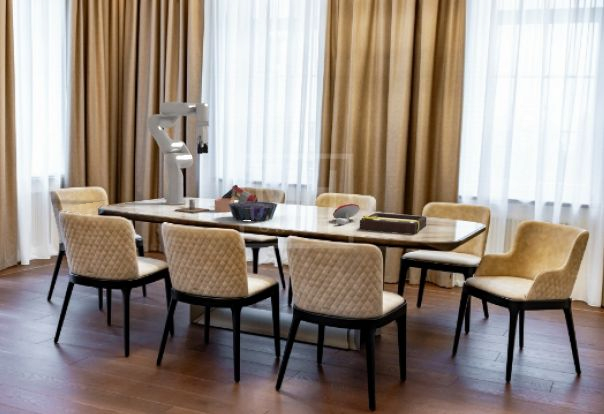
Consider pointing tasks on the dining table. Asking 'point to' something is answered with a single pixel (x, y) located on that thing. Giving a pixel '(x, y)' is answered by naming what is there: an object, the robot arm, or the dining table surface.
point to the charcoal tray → (191, 213)
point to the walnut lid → (192, 208)
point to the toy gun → (243, 197)
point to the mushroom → (345, 213)
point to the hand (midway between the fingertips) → (202, 153)
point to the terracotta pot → (223, 205)
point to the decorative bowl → (252, 210)
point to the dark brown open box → (393, 223)
